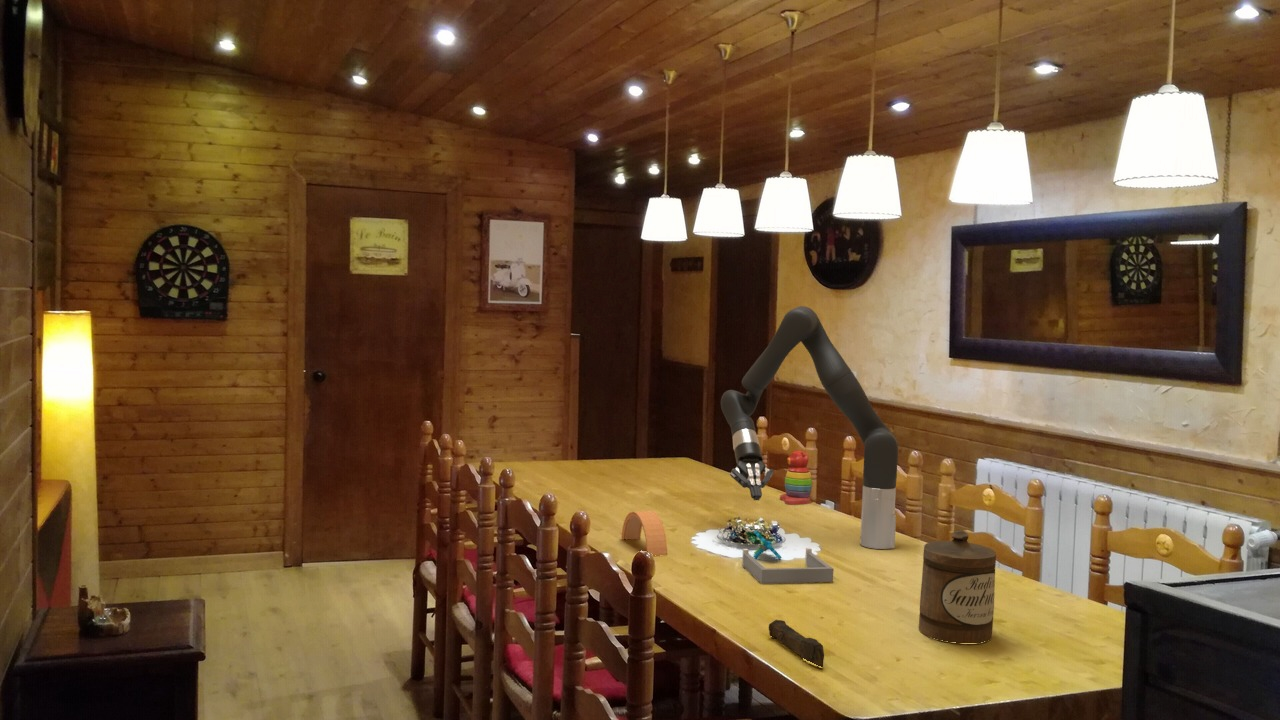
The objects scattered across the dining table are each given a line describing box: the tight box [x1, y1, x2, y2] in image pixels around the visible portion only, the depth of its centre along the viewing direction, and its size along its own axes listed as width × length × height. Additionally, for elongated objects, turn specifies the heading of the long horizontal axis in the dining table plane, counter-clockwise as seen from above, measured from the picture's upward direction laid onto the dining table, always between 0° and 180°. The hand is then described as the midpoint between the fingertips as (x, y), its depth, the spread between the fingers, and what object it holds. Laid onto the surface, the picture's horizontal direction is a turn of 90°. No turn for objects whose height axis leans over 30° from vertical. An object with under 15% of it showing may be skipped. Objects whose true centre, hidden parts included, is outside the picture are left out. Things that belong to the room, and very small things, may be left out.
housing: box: [741, 547, 834, 585], centre depth 253 cm, size 17×18×4 cm
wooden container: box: [918, 529, 997, 643], centre depth 210 cm, size 15×15×22 cm
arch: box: [621, 510, 668, 557], centre depth 275 cm, size 6×20×10 cm, turn 21°
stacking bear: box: [779, 449, 813, 506], centre depth 346 cm, size 11×10×18 cm
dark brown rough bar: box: [768, 619, 825, 667], centre depth 196 cm, size 19×4×5 cm, turn 17°
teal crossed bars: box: [753, 530, 782, 560], centre depth 268 cm, size 11×6×10 cm
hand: (757, 498), depth 278 cm, fingers closed
